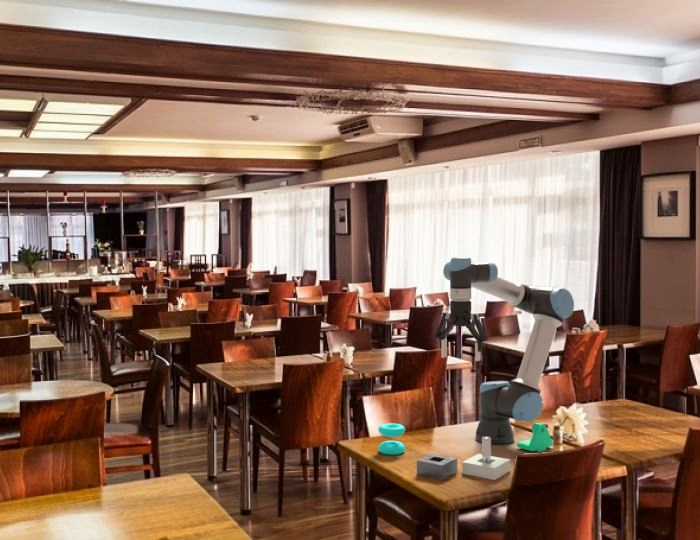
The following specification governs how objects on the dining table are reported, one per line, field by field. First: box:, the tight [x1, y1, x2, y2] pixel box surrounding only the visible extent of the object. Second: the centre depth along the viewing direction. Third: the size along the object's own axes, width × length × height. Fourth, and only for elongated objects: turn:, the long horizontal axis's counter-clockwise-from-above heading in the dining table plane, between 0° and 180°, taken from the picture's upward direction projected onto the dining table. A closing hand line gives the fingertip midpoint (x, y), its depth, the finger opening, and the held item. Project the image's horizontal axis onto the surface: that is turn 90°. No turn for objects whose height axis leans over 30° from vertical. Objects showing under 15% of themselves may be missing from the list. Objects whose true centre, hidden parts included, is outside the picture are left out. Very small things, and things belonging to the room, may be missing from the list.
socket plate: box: [461, 453, 511, 481], centre depth 255 cm, size 12×12×4 cm
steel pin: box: [481, 437, 492, 464], centre depth 255 cm, size 3×3×12 cm
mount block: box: [416, 452, 458, 481], centre depth 254 cm, size 10×10×5 cm
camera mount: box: [516, 422, 554, 453], centre depth 284 cm, size 12×8×10 cm, turn 126°
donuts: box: [378, 422, 406, 456], centre depth 281 cm, size 10×10×10 cm
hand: (460, 359), depth 269 cm, fingers open, 13 cm apart
